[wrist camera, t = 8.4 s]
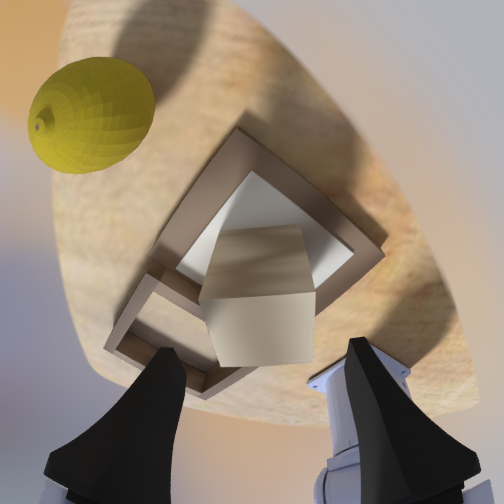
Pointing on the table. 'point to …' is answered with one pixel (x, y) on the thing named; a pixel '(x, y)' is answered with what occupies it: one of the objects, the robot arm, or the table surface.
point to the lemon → (90, 115)
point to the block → (260, 297)
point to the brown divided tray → (242, 217)
